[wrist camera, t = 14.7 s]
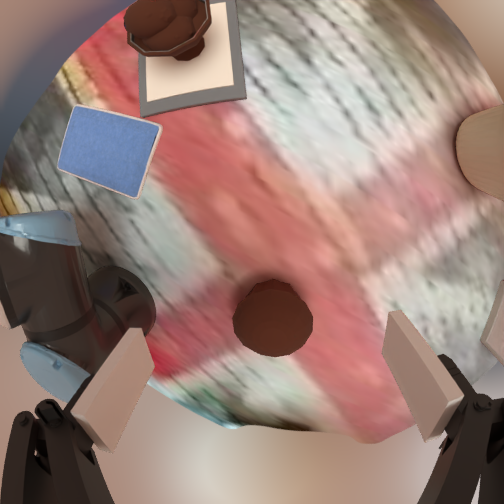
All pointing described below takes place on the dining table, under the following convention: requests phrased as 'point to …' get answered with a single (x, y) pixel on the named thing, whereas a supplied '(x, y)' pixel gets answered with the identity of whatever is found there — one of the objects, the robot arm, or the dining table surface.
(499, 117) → the canister
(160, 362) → the dining table surface
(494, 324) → the striped arched panel rack
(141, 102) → the mat
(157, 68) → the sheet
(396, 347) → the robot arm
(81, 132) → the tablet computer
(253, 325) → the muffin
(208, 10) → the ice cream bowl
